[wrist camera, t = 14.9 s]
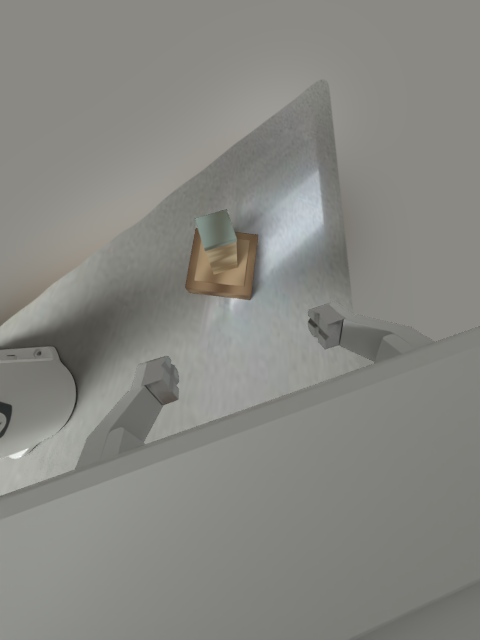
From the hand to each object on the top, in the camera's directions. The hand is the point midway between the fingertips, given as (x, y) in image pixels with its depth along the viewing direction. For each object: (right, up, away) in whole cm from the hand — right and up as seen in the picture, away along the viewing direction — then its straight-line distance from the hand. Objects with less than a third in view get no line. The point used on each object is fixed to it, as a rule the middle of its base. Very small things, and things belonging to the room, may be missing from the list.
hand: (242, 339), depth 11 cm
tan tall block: (-3, +12, +24) cm, 27 cm away
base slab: (-3, +12, +27) cm, 30 cm away
